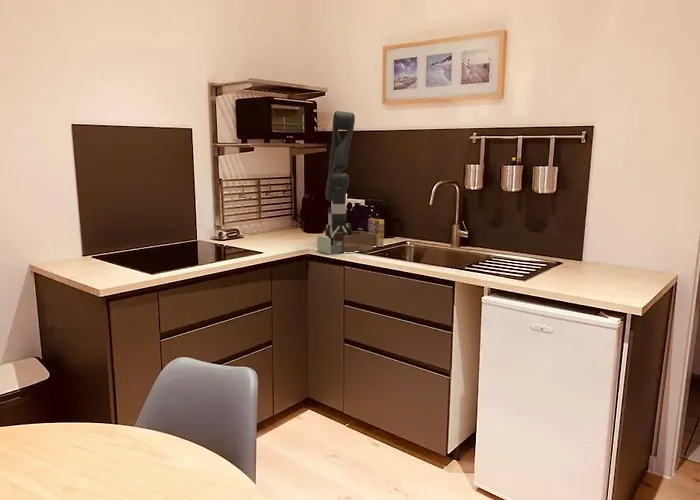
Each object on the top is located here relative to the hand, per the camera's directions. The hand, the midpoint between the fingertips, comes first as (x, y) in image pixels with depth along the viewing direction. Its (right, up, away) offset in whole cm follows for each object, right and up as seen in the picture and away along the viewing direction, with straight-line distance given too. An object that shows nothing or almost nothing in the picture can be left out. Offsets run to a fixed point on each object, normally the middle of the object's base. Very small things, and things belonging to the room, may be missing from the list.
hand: (338, 243), depth 274 cm
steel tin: (0, -3, 0) cm, 3 cm away
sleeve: (+7, -3, +5) cm, 9 cm away
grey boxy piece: (0, -4, +1) cm, 4 cm away
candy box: (+20, -2, +16) cm, 26 cm away
